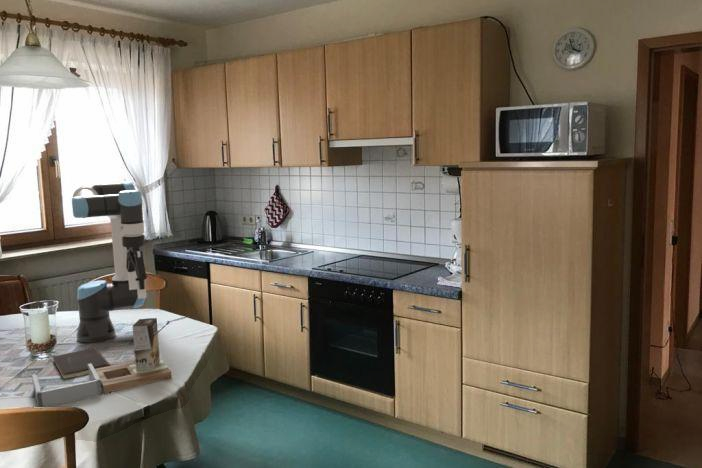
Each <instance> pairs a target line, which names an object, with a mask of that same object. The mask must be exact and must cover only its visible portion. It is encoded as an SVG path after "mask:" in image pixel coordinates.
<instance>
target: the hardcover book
mask: <svg viewBox="0 0 702 468" xmlns="http://www.w3.org/2000/svg"><path fill="white" fill-rule="evenodd" d="M52 359H53V361H54V363H55V365H56V367H57V368H58V371H59V372H60V374H61V376H62V378H63V379H64V380H66V379H70V378H76V377H78V376H84V375H85V376H86V375H89V373H88V364H90V363H91V364H92V365H93V367H94V369H97V368H102V367H107V366H111V364H110V363H109V362H108V360H107V359H106V358H105V357H104V355H103V354H102V353H101V352H100V351H99V349H98V348H97V347H92V348H87V349H84V350H77V351H72V352H67V353H61V354H57V355H53V356H52Z"/></svg>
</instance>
